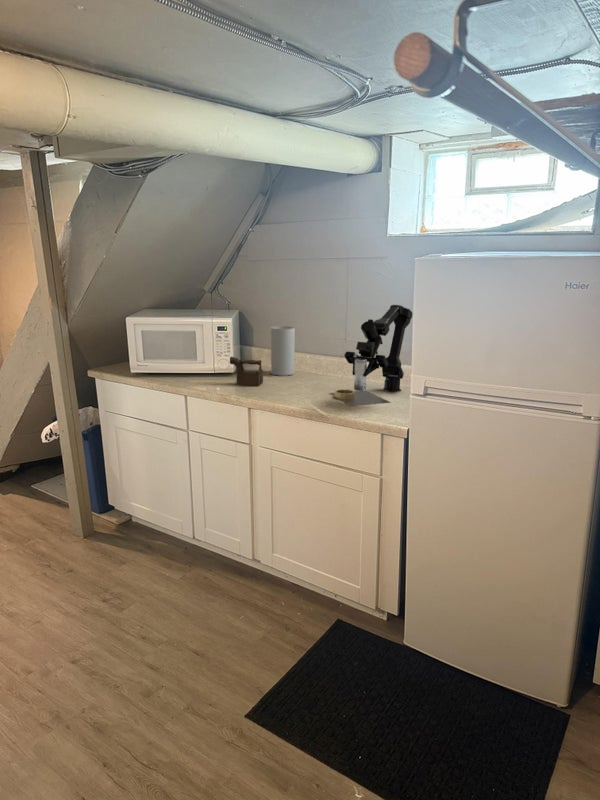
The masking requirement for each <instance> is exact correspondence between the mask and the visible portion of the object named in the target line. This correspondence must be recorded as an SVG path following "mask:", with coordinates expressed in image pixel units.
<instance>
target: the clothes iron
mask: <svg viewBox="0 0 600 800" xmlns="http://www.w3.org/2000/svg"><path fill="white" fill-rule="evenodd" d="M262 362H263V361H262V359H261V360H259V359H258V360H256V359H245V358H242V359H239V358H237V357H234V356H230V357H229V364H230V365H234V366H235V369H236V384H237V385H241V386H247V387H248V386H249V387H260V386H261V385H262V384H263V383H264V369H263V368H262ZM244 364H245V365H246V364H247V365H258V366H259V367H258V370H252V369H251V370H248V369H245V367H244Z"/></svg>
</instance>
